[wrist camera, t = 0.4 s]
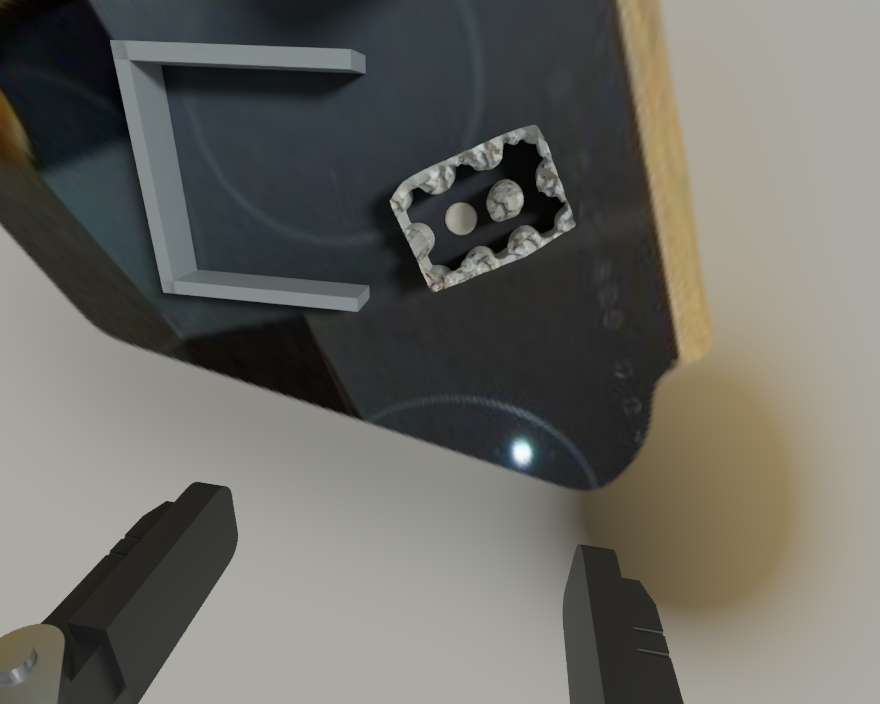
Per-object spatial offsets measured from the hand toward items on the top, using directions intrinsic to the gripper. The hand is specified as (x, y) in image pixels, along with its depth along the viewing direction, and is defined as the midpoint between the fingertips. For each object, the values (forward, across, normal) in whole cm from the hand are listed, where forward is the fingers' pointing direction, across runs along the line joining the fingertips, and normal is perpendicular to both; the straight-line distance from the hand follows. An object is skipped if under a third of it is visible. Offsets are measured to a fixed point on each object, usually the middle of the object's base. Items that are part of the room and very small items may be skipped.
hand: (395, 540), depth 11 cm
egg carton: (+27, 0, -3) cm, 27 cm away
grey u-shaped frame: (+26, +15, -4) cm, 31 cm away
